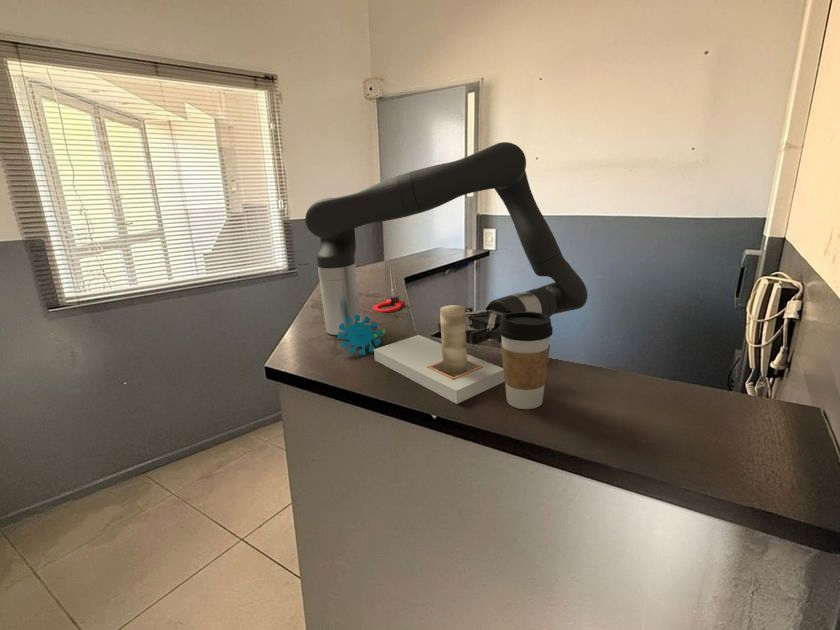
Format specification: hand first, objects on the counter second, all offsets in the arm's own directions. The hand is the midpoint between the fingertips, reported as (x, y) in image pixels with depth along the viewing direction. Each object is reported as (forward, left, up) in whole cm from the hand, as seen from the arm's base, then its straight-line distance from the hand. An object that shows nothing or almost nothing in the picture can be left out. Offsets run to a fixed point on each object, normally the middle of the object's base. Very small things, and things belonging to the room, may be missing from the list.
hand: (454, 333), depth 80 cm
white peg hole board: (-6, 0, -9) cm, 11 cm away
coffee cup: (+14, +3, -9) cm, 17 cm away
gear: (-26, -5, -10) cm, 28 cm away
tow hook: (-50, +17, -10) cm, 53 cm away
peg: (0, 0, -9) cm, 9 cm away
